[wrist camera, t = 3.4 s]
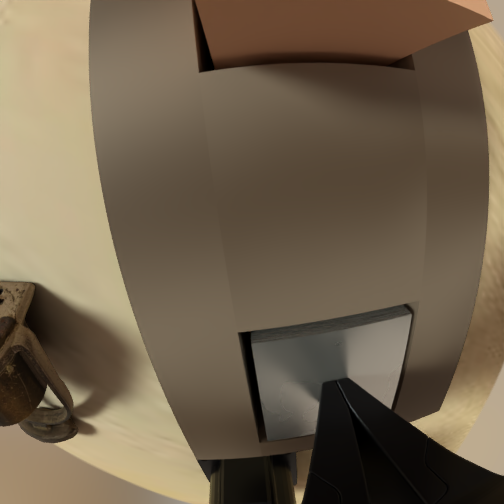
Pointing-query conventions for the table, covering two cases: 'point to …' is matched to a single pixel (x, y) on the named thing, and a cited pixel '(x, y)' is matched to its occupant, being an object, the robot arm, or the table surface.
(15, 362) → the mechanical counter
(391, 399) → the aluminium plug
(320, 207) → the plug panel
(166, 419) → the table surface
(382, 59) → the terracotta plug
